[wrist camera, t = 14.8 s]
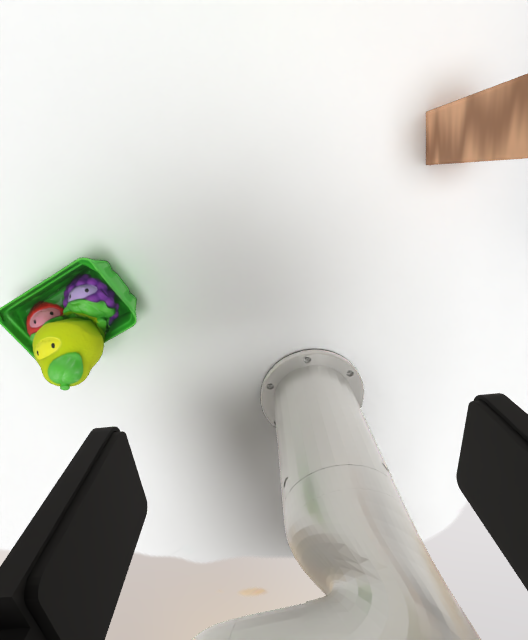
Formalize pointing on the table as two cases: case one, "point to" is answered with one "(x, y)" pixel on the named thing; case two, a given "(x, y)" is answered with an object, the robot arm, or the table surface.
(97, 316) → the fruit basket
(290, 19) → the table surface
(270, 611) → the robot arm
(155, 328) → the table surface
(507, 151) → the wooden block
